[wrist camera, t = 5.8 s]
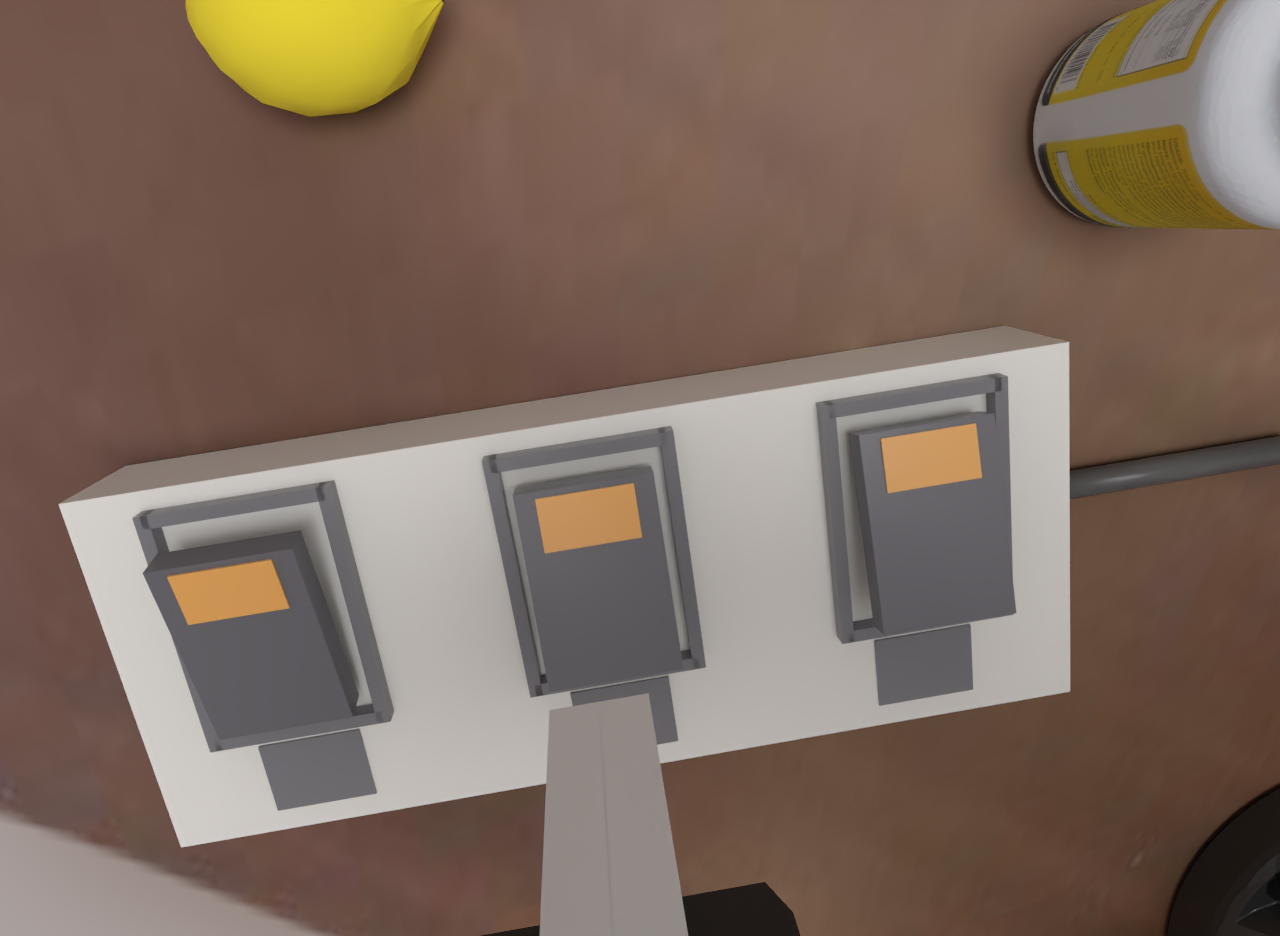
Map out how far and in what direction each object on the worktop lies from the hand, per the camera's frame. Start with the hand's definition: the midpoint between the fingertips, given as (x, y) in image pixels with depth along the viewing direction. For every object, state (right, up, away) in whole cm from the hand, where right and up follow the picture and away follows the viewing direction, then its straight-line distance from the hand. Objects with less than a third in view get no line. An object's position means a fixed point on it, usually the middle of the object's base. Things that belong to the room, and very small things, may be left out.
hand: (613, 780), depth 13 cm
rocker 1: (-11, 0, +12) cm, 16 cm away
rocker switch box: (+4, +2, +18) cm, 19 cm away
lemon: (-8, +18, +13) cm, 24 cm away
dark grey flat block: (-1, +2, +13) cm, 13 cm away
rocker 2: (+9, +3, +13) cm, 16 cm away
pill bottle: (+16, +16, +15) cm, 27 cm away
